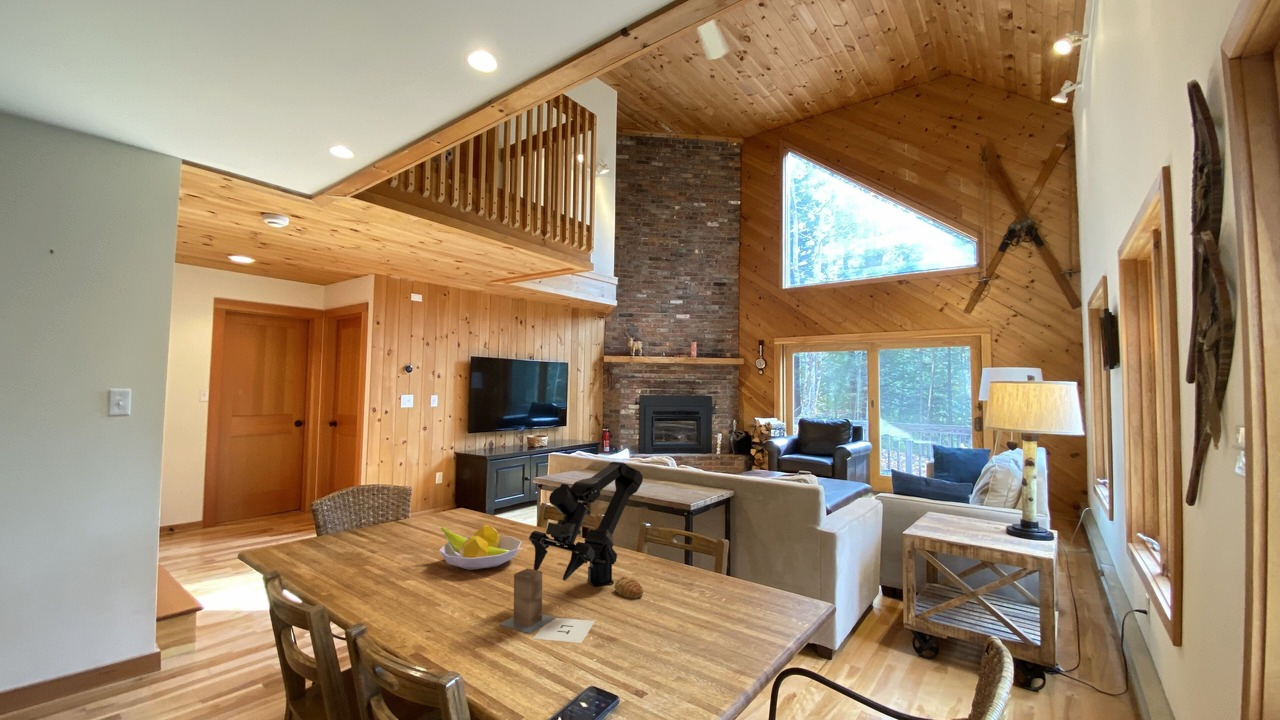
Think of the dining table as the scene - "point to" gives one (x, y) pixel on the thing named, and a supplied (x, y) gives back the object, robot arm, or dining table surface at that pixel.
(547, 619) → the slate coaster
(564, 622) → the tile
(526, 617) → the walnut block
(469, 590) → the dining table surface
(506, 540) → the fruit bowl
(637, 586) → the pastry
